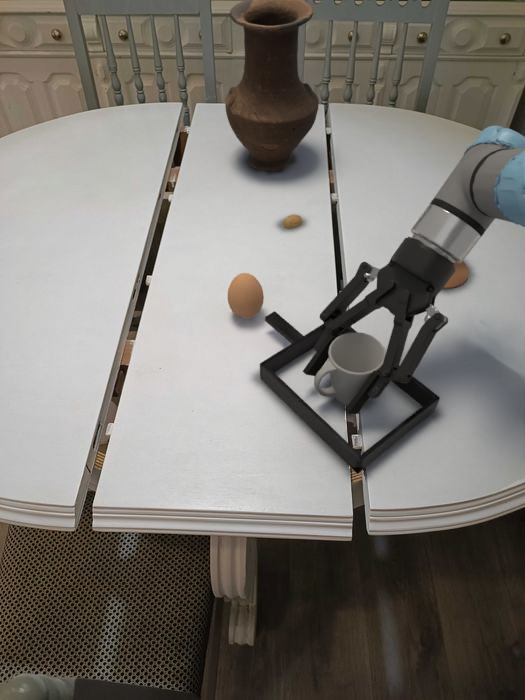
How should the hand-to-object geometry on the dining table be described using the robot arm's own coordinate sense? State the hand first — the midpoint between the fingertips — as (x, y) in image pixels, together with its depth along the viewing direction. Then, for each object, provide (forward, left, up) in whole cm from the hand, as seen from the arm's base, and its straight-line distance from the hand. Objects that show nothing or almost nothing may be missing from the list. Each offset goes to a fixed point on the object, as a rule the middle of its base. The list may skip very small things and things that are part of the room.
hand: (329, 392), depth 73 cm
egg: (+22, -2, -4) cm, 22 cm away
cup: (0, -3, -4) cm, 5 cm away
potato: (+36, -24, -4) cm, 44 cm away
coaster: (+9, -35, -4) cm, 37 cm away
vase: (+57, -36, -4) cm, 68 cm away
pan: (+3, -3, -4) cm, 6 cm away
